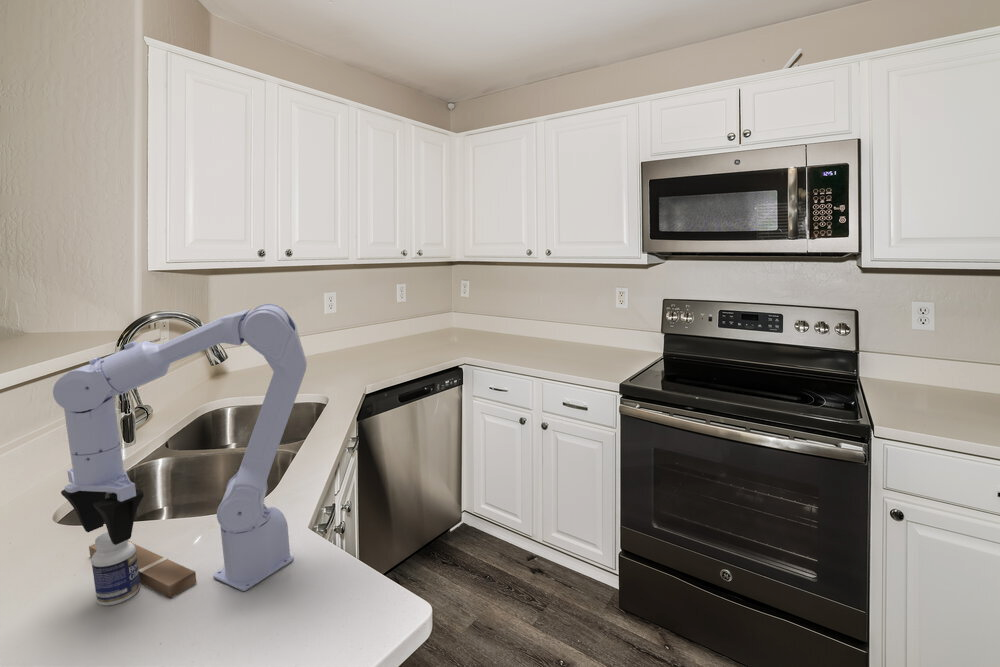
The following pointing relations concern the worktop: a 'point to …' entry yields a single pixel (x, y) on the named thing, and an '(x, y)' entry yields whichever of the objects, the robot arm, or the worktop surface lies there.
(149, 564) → the striped brown wooden bar
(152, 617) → the worktop surface
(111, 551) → the pill bottle
